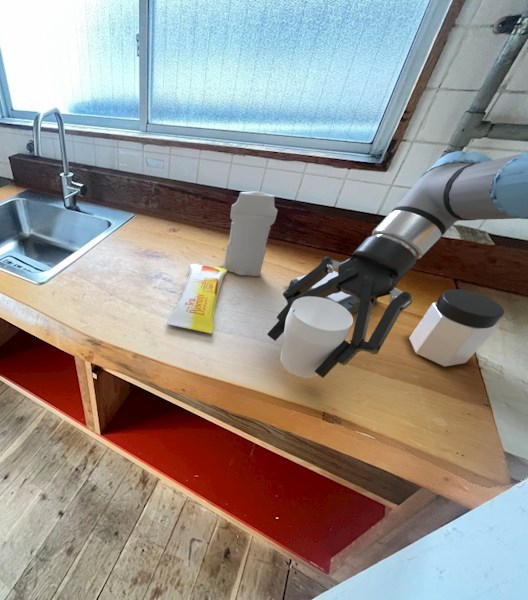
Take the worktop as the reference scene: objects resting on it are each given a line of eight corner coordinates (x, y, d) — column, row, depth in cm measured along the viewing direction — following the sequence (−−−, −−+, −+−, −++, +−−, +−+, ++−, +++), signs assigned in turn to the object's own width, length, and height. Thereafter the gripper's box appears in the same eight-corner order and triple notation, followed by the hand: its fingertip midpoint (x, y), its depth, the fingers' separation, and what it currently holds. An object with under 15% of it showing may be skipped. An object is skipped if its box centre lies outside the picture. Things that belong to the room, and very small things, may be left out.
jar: (436, 333, 67) (471, 286, 59) (476, 362, 60) (521, 313, 53) (397, 339, 66) (428, 291, 59) (434, 369, 59) (474, 320, 52)
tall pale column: (262, 271, 88) (282, 191, 75) (260, 279, 85) (281, 197, 72) (223, 264, 92) (235, 186, 79) (220, 271, 89) (232, 192, 76)
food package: (213, 329, 67) (166, 320, 70) (211, 337, 68) (166, 328, 71) (228, 265, 87) (191, 260, 90) (226, 272, 88) (190, 266, 91)
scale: (375, 302, 76) (381, 291, 74) (339, 319, 71) (344, 309, 69) (322, 274, 86) (326, 264, 84) (288, 288, 81) (291, 278, 79)
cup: (335, 362, 58) (361, 310, 51) (318, 393, 53) (344, 340, 45) (284, 339, 63) (302, 289, 56) (264, 366, 58) (281, 314, 51)
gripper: (477, 291, 45) (360, 406, 49) (334, 234, 61) (254, 325, 65) (481, 268, 40) (350, 399, 44) (324, 213, 56) (238, 312, 60)
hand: (293, 355), depth 54 cm, fingers closed on cup, 9 cm apart
